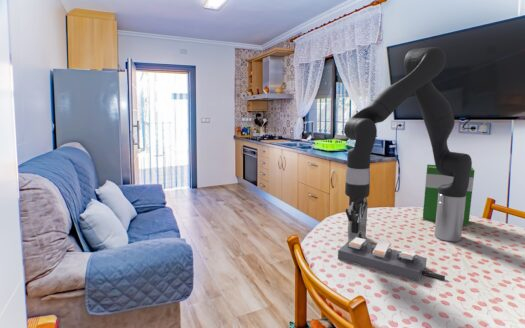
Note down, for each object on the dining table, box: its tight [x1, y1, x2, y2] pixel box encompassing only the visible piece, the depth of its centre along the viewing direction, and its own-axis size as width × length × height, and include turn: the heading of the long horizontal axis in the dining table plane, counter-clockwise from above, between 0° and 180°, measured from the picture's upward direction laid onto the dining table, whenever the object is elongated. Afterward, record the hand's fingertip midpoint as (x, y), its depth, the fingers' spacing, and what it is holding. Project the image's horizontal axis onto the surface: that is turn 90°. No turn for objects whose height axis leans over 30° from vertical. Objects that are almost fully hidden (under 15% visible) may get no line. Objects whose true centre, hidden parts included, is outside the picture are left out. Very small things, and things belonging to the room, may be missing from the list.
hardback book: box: [422, 164, 475, 226], centre depth 148 cm, size 18×7×24 cm, turn 64°
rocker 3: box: [399, 250, 417, 260], centre depth 103 cm, size 7×4×1 cm, turn 144°
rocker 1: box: [348, 237, 367, 249], centre depth 113 cm, size 7×4×1 cm, turn 144°
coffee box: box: [347, 196, 369, 242], centre depth 126 cm, size 9×6×16 cm
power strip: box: [337, 239, 446, 282], centre depth 107 cm, size 11×31×5 cm, turn 54°
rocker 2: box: [373, 240, 391, 258], centre depth 108 cm, size 7×4×1 cm, turn 143°
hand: (355, 232), depth 110 cm, fingers closed
